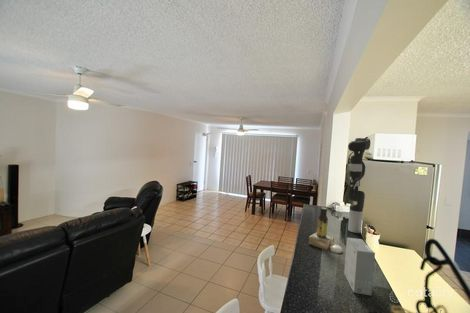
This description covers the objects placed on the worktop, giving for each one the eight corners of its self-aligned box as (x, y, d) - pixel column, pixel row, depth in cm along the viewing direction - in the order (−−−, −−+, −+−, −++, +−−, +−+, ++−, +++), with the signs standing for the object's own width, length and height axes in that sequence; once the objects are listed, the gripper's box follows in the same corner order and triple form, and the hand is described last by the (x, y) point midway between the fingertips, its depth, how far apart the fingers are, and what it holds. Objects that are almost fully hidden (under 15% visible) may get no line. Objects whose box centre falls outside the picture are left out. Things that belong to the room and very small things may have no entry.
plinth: (316, 238, 154) (316, 231, 153) (333, 244, 145) (334, 236, 145) (308, 243, 145) (309, 235, 145) (326, 250, 137) (326, 242, 137)
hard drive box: (372, 296, 95) (375, 253, 94) (353, 293, 97) (356, 251, 96) (359, 275, 110) (362, 238, 109) (343, 273, 112) (346, 236, 111)
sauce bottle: (315, 234, 148) (316, 206, 147) (323, 234, 148) (325, 206, 147) (319, 238, 141) (321, 209, 140) (328, 238, 142) (330, 209, 141)
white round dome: (332, 246, 142) (332, 243, 142) (343, 250, 138) (343, 247, 137) (328, 250, 138) (328, 246, 137) (339, 254, 133) (339, 250, 132)
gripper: (353, 168, 153) (351, 191, 154) (346, 170, 143) (344, 194, 144) (364, 170, 148) (363, 192, 149) (358, 171, 138) (356, 196, 139)
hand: (354, 193), depth 147 cm, fingers open, 8 cm apart
